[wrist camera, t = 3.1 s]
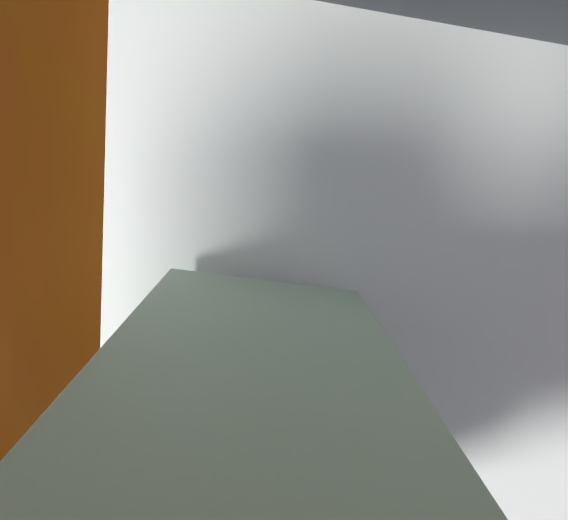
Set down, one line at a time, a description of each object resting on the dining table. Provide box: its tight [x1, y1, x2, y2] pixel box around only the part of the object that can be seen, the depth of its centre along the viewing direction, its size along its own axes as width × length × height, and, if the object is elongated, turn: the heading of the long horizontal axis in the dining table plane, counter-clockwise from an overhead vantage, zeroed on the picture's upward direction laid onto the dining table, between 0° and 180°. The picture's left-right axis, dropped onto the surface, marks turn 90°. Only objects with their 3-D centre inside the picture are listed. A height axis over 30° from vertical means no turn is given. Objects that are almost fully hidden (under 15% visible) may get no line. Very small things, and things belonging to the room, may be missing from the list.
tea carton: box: [0, 268, 508, 520], centre depth 6 cm, size 4×6×6 cm
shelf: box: [100, 0, 568, 520], centre depth 8 cm, size 13×14×3 cm
